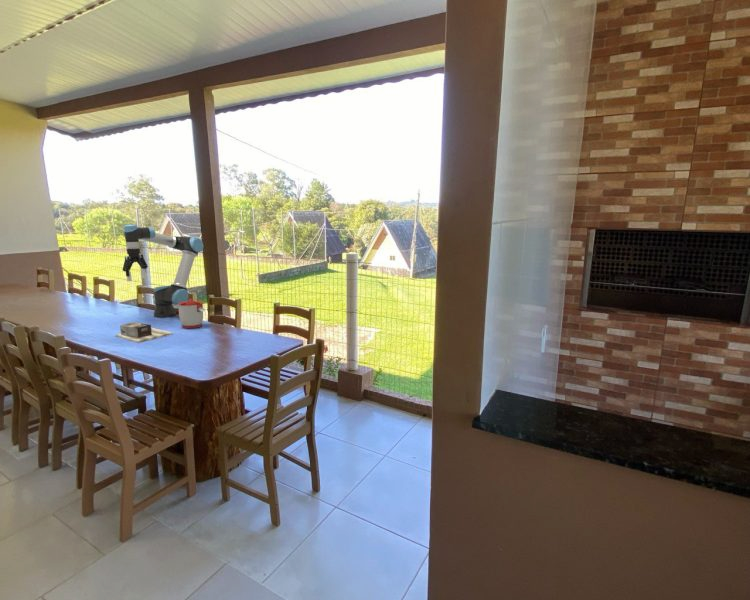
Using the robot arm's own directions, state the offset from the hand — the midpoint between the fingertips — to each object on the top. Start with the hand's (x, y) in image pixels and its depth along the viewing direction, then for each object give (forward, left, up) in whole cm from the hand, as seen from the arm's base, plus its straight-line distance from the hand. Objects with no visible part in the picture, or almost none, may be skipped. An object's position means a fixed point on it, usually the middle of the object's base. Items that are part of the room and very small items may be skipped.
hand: (137, 279), depth 256 cm
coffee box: (+17, +15, -28) cm, 36 cm away
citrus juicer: (-18, +31, -33) cm, 49 cm away
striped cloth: (+12, +25, -32) cm, 43 cm away
